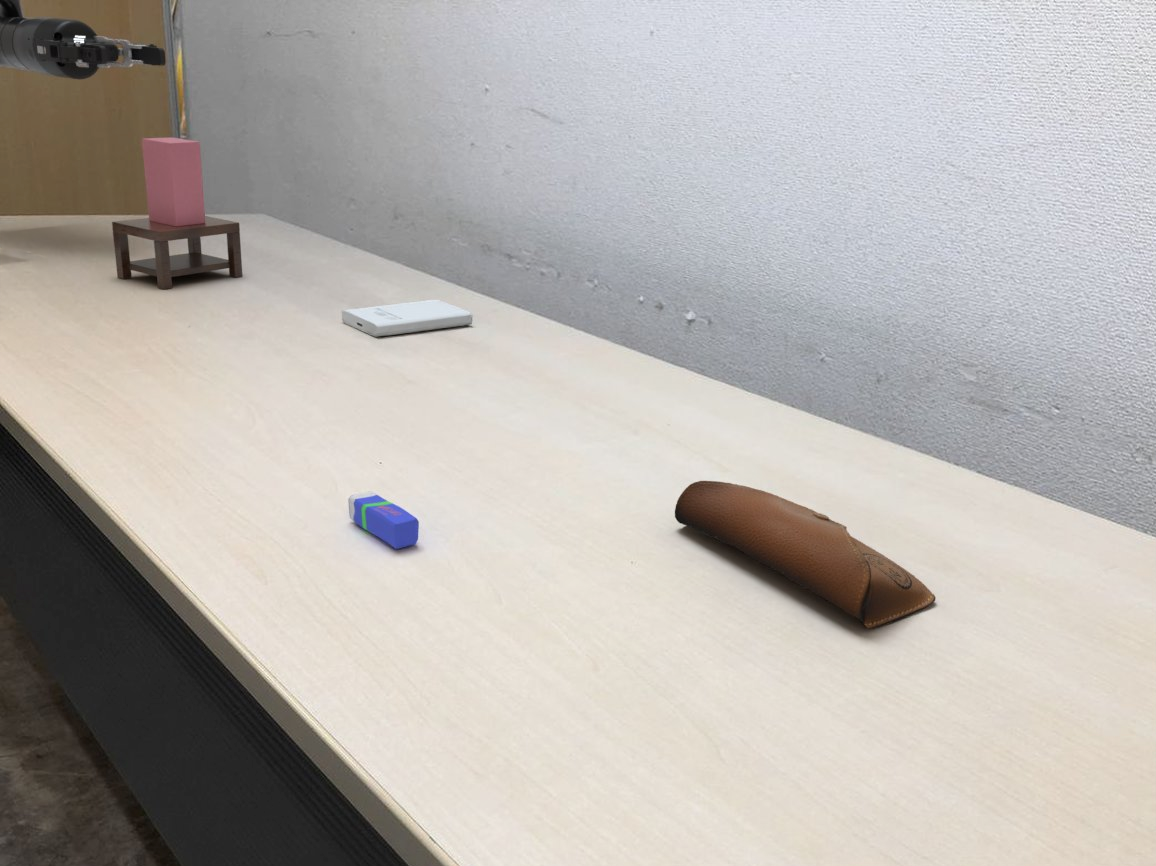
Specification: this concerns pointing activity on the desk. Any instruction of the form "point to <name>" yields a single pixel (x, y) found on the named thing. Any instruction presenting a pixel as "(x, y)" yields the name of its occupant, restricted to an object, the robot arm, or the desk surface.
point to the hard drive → (406, 317)
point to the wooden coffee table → (180, 263)
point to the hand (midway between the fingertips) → (134, 56)
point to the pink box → (174, 181)
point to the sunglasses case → (805, 550)
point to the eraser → (384, 519)
